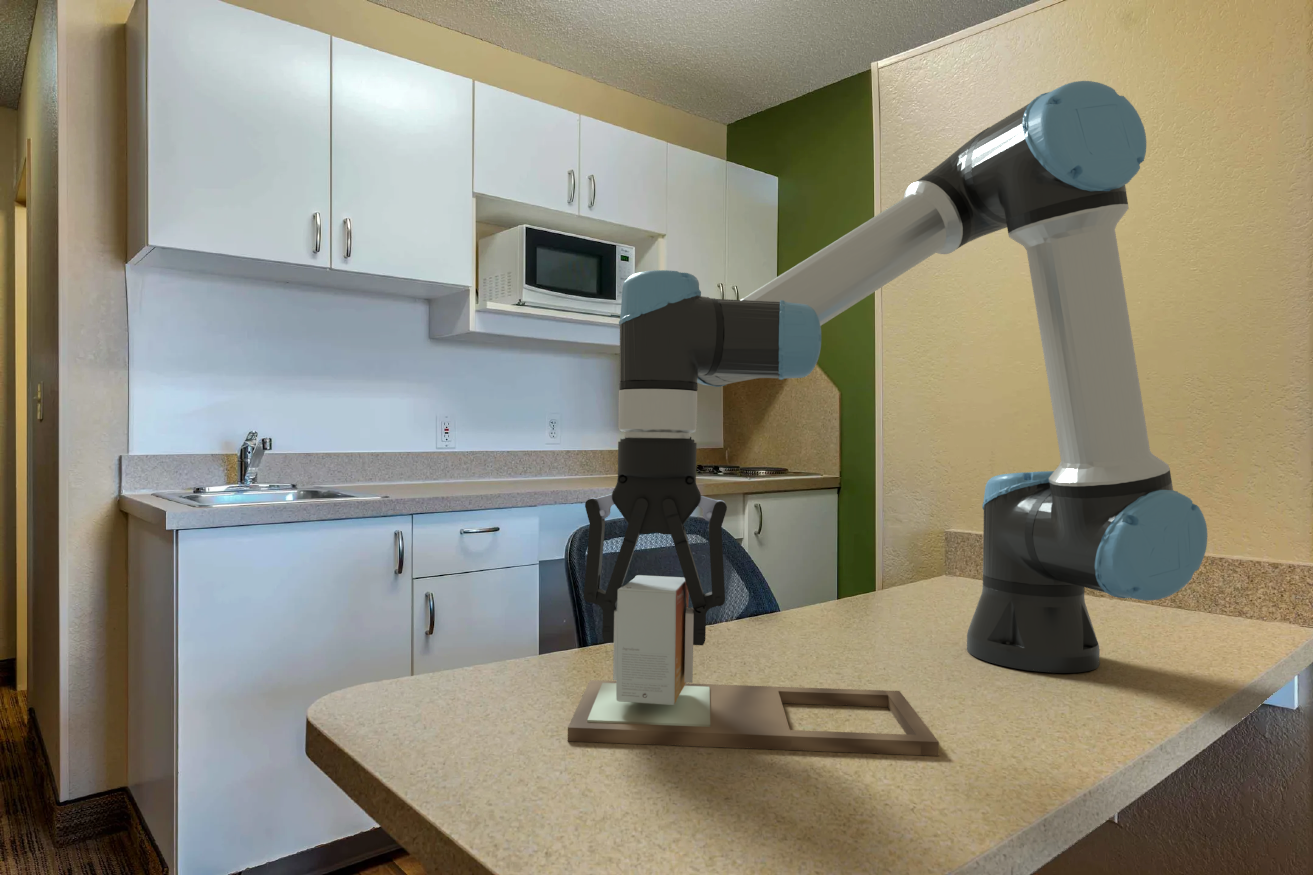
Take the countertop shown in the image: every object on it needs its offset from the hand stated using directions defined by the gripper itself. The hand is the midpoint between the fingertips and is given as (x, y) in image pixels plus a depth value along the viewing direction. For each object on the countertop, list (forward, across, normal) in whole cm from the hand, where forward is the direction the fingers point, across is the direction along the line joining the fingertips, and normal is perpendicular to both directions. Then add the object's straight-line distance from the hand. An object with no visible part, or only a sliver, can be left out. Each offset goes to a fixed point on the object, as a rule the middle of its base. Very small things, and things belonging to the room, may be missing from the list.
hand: (653, 676), depth 78 cm
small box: (+2, 0, 0) cm, 2 cm away
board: (+4, -9, 0) cm, 10 cm away
